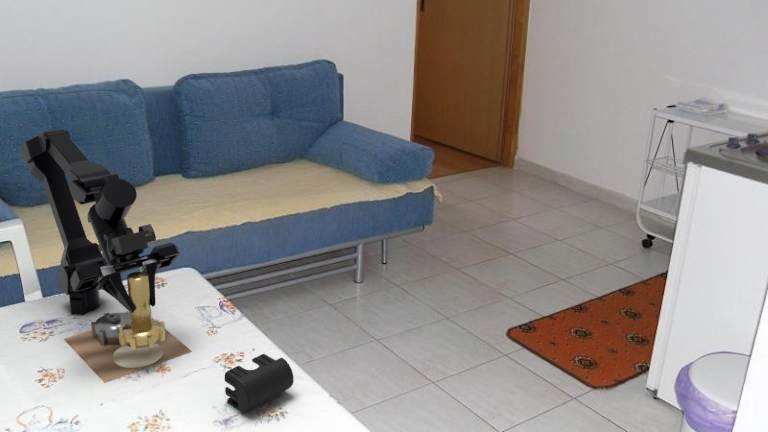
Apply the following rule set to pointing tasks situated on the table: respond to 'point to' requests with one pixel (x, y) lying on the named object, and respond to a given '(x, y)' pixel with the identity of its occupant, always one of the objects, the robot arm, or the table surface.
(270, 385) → the end cap
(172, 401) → the table surface
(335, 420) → the table surface
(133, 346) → the gear
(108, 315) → the sun gear
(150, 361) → the carrier board
